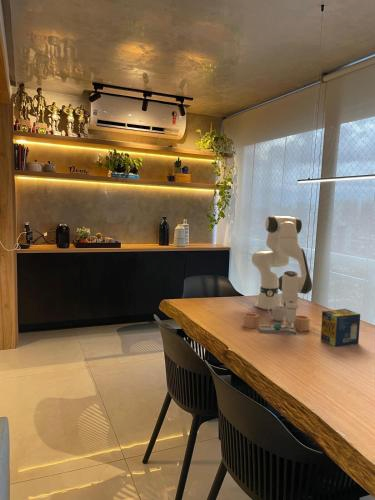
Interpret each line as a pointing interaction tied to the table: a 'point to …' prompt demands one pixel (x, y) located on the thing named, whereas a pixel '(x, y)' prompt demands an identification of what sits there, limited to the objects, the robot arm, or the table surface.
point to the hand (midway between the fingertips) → (288, 326)
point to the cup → (277, 313)
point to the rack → (280, 331)
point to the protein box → (340, 327)
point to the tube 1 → (251, 320)
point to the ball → (277, 325)
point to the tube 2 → (301, 323)
